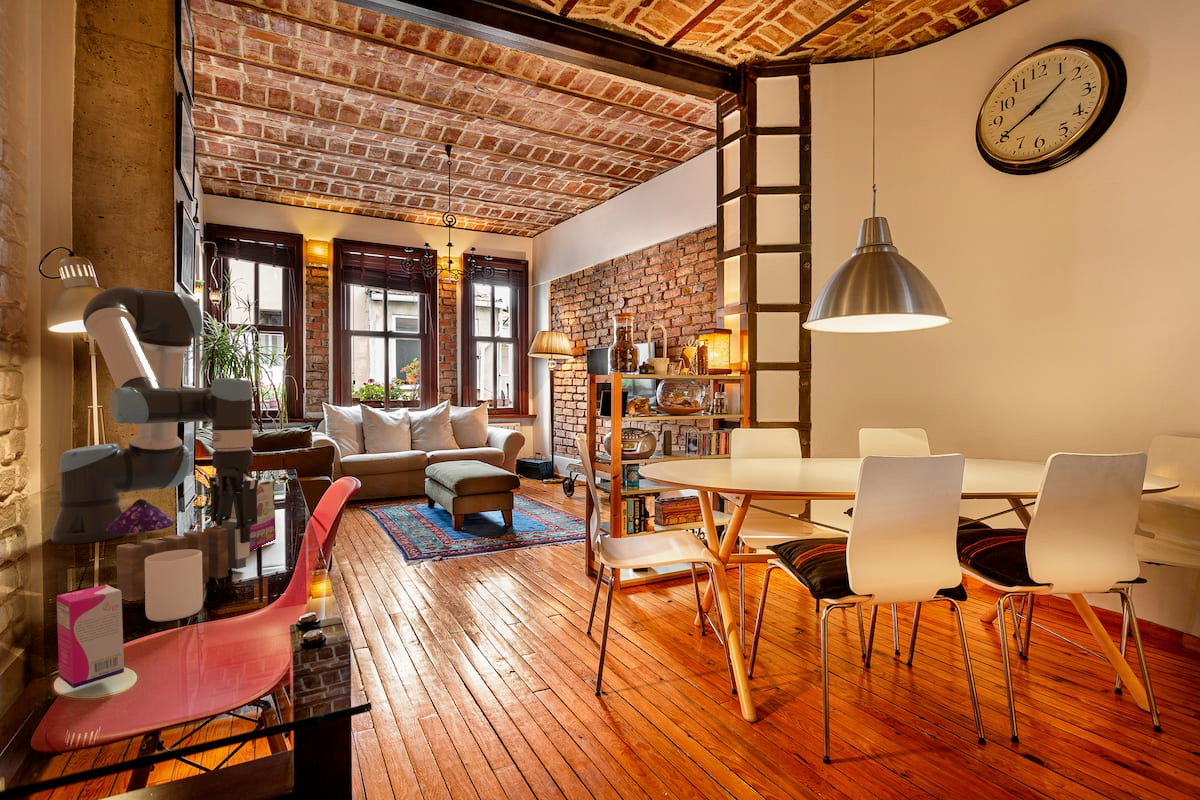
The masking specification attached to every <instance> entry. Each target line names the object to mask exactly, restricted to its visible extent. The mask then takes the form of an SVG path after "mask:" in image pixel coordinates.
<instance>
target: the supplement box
mask: <svg viewBox="0 0 1200 800" xmlns="http://www.w3.org/2000/svg"><path fill="white" fill-rule="evenodd" d="M122 603H123V600H122V594H121V590H118V589H117V588H115V587H112V586H110V585H108V584H102V585H98V586H93V587H89V588H84V589H80V590H76V591H71V592H67V593H63V594H57V595H56V617H57V618H56V620H57V623H56V624H57V648H58V649H57V650H58V651H57V652H58V653H57V654H58V677H59V678H60V679H61V680H63V682H65V683H66V684H68V686H70V687H71V688H72V689H75V688H80V687H82V686H85V685H88V684H89V685H90V684H92V683H94V682H97V681H101V680H103V679H107V678H111V677H113V676H117V675H120V674H123V673H124V672H125V662H124V661H125V660H124V659H125V658H124V655H125V654H124V653H125V652H124V651H125V650H124V628H123V627H124V626H123V624H124V623H123V604H122Z"/></svg>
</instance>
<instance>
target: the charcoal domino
mask: <svg viewBox="0 0 1200 800" xmlns="http://www.w3.org/2000/svg"><path fill="white" fill-rule="evenodd" d="M236 526H238V525H237V520H236V519H227V520H222V528H224V529H227V533H228V569H229V568H230V569H234V570H239V569H243V568H245V567H247V557H245V558H241V559H235V528H234V527H236Z"/></svg>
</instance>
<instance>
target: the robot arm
mask: <svg viewBox="0 0 1200 800" xmlns="http://www.w3.org/2000/svg"><path fill="white" fill-rule="evenodd" d="M82 314H83V315H82V322H83V326H84V328H85V331H86V332H87V334H88V335H89V337H91V339H93V340H95V341H96V342H97V345H98V347H99V349H100V352H101V355H102V357H103V360H104V361H105V364H106V366H107V369H108V371H109V374H110V376H111V379H112V381H113V383H114V386H115V389H113V391H112V392H111V395H110V401H109V402H110V403H109V405H110V406H109V407H110V410H111V417H112V419H113V420H114V422H116V423H118V424H135V425H137V434H135V435H134V436H133V437H131V438H130V439H129V443H128V447H125V448H120V446H119V444H118V443H104V444H96V445H94V444H93V445H87V446H82V447H77V448H72V449H68V450H66V451H64V452H63V453H62V454H61V455H60V457H59V467H58V470H57V471H58V473H59V503H60V504H59V506H60V508H59V512H58V514H57V517H56V521H55V523H54V526H53V528H52V530H51V534H50V535H51V537H50V538H51V539H50V540H51V542H52V543H53V544H58V545H74V544H75V545H76V544H86V543H96V542H101V541H102V542H103V541H108V540H112V539H117V538H120V537H124V536H127V534H114V533H109V532H108V531H107V530H106V528H107V527H108V526H109V525H110V524H111V523H112V522H113V521H114V520H115V519H116V518H117V517H118V516H119V515H121V514H122V513H123V512H124V511H123V509H122V508H121V505H120V494H122V493H132V492H142V491H151V490H164V489H168V488H176V487H178V486H180V485H181V484H182V483H183V482H184V481H185V479H186V478H187V475H188V474H189V473H188V471H189V469H190V463H191V462H190V461H191V460H190V452H189V449H188V447H187V446H186V445H184V444H183V439H181V438H180V437H179V436H178V435H177V433H178V432H177V431H178V430H177V429H178V423H190V422H191V423H192V422H193V423H194V422H211V430H212V435H211V439H212V448H213V449H215V450H214V451H213V452H212V467H213V468H214V469H218V472H217V475H214V476H209V478H208V482H209V487H210V521H211V522H212V523H214V522H215V524H216V526H217V528H222V520H227V519H231V513H232V506H233V502H234V508H235V514H236V519H237V525H238V526H236V527H234V528H235V559H241V558H245V557H246V558H249V557H250V553H251V552H250V544H249V542H250V527H251V526H252V525H254V524H257V486H258V481H259V479H258V478H251V477H250V474H249V471H248V470H249V467H252V466H253V464H254V459H253V458H254V453H253V452H254V451H253V450H252V449H251V448H253V446H254V441H253V440H254V439H253V397H254V396H253V395H254V394H253V390H252V382H251V381H250V380H249V379H248V378H243V377H241V378H238V377H237V378H236V377H235V378H233V377H231V378H230V377H228V378H227V377H224V378H221V377H220V378H214V379H213V380H212V382H211V387H182V386H181V385H182V375H183V374H182V373H183V364H184V363H183V362H184V354H185V353H184V352H185V350H187V349H189V348H190V347H192V342H193V341H192V340H193V339H197V338H200V337H201V334H202V332H203V317H202V311H201V308H200V305H199V303H198V300H197V299H196V298H195V297H194V296H193V295H191V294H189V293H185V292H179V291H175V290H162V289H151V288H142V287H141V288H139V287H132V286H117V287H116V286H114V287H110V288H108V289H105V290H103V291H101V292H98V293H97V294H96V295H93V297H91V299H89V301H88V302H87V303H86V306H85V308H84V310H83V313H82ZM237 492H239V493H237Z"/></svg>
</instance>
